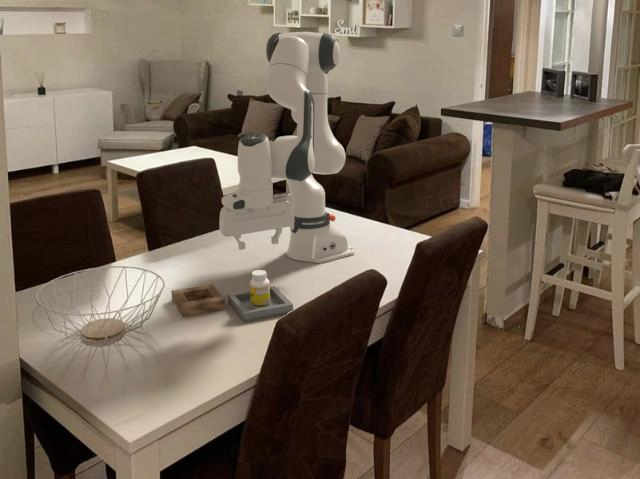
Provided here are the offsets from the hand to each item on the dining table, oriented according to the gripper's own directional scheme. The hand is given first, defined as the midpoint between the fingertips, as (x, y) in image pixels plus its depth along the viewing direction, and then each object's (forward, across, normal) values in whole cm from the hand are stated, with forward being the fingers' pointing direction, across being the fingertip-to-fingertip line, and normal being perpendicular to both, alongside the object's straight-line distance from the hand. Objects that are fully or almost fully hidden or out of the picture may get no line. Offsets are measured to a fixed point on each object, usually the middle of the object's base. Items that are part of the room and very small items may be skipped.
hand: (258, 246), depth 196 cm
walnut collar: (+18, +16, -9) cm, 25 cm away
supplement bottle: (+18, 0, 0) cm, 18 cm away
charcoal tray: (+18, 0, 0) cm, 18 cm away
